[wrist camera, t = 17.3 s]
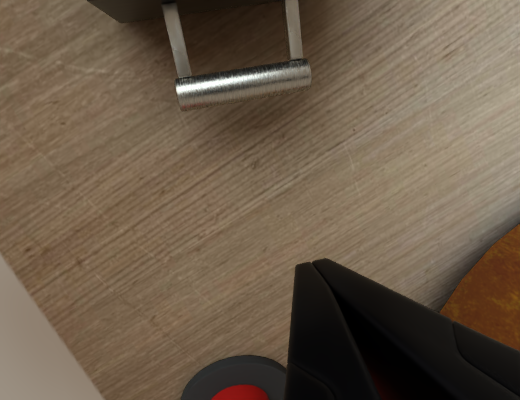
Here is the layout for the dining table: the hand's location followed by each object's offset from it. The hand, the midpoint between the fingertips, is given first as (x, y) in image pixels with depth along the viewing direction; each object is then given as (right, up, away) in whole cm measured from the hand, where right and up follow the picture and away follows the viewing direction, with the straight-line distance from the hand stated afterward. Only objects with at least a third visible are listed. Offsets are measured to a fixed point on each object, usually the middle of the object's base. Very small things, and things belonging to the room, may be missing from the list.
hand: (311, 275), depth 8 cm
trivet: (-3, -15, +18) cm, 24 cm away
